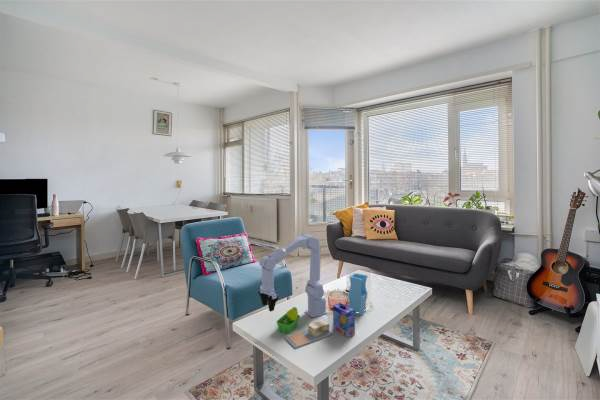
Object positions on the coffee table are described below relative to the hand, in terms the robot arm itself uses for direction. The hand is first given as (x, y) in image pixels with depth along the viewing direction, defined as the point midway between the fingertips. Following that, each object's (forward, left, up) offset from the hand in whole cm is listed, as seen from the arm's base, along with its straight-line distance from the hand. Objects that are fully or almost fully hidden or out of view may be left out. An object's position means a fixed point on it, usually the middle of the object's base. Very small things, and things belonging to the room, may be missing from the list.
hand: (268, 307), depth 144 cm
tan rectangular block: (-18, +18, -10) cm, 27 cm away
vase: (-49, +11, -10) cm, 52 cm away
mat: (-12, +18, -10) cm, 24 cm away
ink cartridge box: (-29, +23, -10) cm, 38 cm away
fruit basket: (-8, +6, -10) cm, 15 cm away
